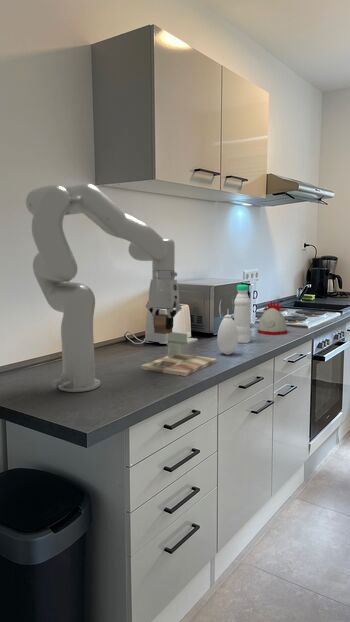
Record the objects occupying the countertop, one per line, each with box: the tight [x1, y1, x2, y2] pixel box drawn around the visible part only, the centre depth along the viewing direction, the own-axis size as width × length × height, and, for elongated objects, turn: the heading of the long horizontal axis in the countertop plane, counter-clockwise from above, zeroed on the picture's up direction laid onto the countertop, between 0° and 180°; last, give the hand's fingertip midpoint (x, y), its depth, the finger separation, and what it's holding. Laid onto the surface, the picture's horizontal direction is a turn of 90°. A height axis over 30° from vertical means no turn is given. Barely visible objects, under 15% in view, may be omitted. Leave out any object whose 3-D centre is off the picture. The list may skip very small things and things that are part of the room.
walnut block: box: [153, 313, 173, 335], centre depth 166 cm, size 4×4×6 cm
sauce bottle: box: [216, 309, 239, 356], centre depth 186 cm, size 8×8×18 cm
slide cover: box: [167, 331, 199, 357], centre depth 177 cm, size 8×8×9 cm
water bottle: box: [233, 284, 252, 344], centre depth 208 cm, size 7×7×25 cm
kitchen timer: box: [257, 301, 288, 336], centre depth 230 cm, size 14×14×15 cm
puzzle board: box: [140, 353, 218, 377], centre depth 171 cm, size 22×18×1 cm
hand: (163, 327), depth 166 cm, fingers closed on walnut block, 4 cm apart
